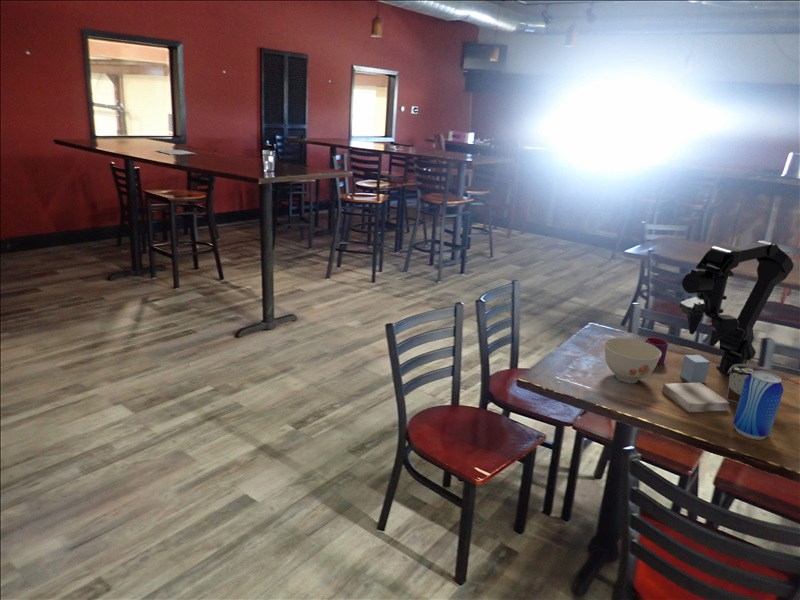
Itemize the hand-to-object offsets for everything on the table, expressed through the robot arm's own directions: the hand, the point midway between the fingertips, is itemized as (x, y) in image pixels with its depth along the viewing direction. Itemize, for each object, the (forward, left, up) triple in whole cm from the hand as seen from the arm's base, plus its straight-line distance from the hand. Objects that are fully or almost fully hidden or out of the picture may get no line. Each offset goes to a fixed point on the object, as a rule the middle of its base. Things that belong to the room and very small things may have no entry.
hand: (701, 339), depth 174 cm
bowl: (+21, -2, -13) cm, 25 cm away
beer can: (+5, +30, -13) cm, 33 cm away
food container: (-7, +14, -13) cm, 20 cm away
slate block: (0, 0, -13) cm, 13 cm away
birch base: (+9, +13, -13) cm, 20 cm away
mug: (+3, -15, -13) cm, 20 cm away
